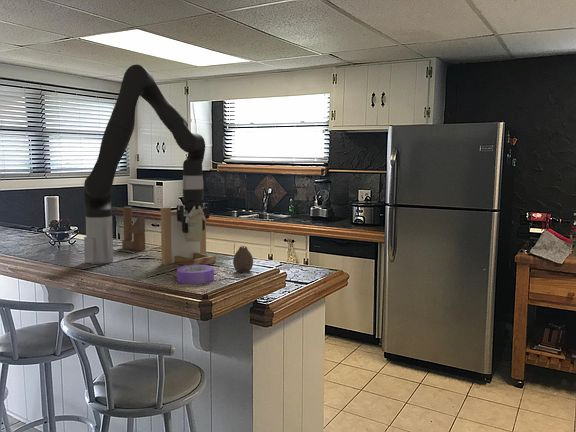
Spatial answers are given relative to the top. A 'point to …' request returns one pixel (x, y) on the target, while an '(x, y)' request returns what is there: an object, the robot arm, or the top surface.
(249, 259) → the vase
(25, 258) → the top surface
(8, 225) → the top surface
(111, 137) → the robot arm
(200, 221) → the skincare box
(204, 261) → the rail slot
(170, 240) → the headboard panel
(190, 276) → the masking tape
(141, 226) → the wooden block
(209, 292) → the top surface
